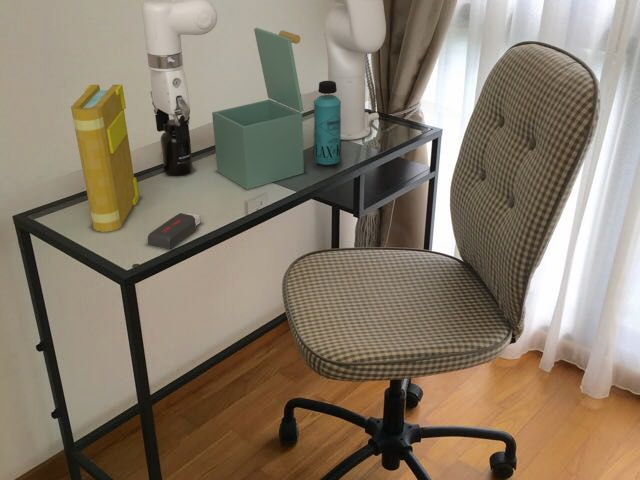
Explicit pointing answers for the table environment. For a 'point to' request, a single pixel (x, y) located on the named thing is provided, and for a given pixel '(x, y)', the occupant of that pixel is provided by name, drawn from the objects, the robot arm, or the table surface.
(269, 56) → the bin lid
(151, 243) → the usb drive
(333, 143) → the beverage bottle
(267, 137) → the bin
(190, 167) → the supplement bottle
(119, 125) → the book
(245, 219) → the table surface
